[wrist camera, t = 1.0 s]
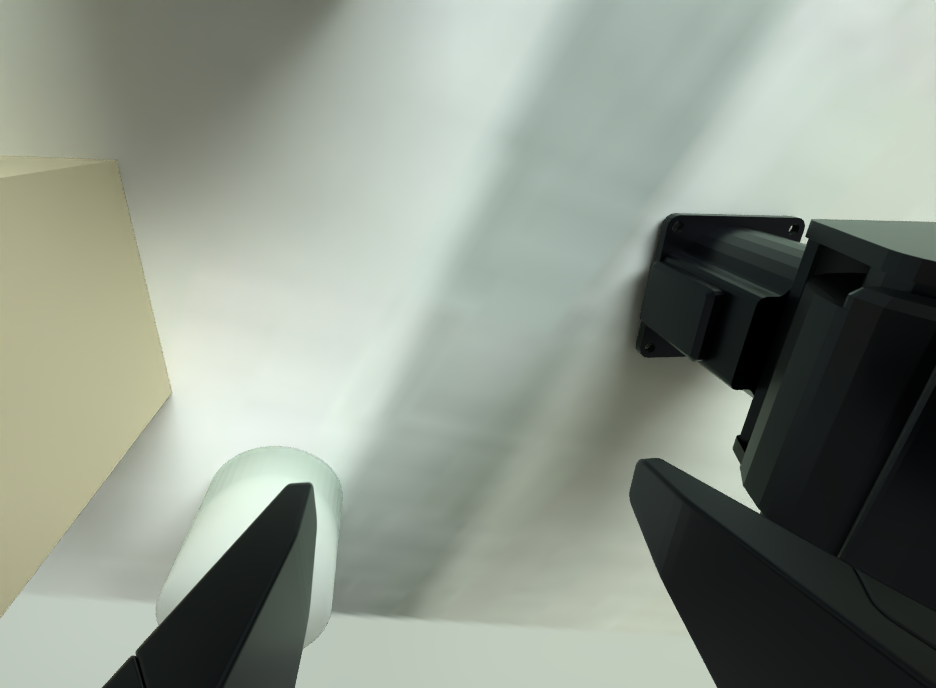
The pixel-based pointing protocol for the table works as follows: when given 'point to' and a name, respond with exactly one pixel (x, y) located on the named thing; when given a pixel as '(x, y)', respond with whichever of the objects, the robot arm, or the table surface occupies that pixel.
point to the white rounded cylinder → (239, 503)
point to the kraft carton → (67, 350)
